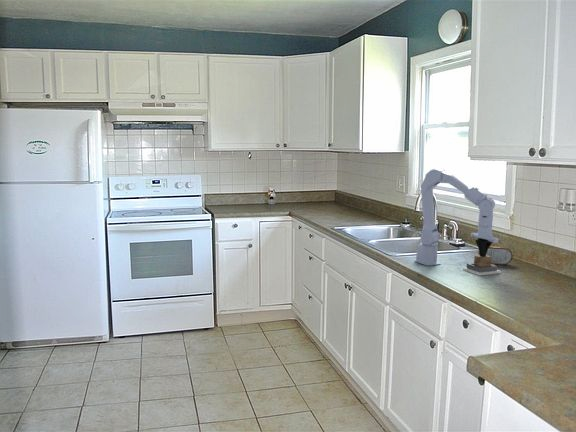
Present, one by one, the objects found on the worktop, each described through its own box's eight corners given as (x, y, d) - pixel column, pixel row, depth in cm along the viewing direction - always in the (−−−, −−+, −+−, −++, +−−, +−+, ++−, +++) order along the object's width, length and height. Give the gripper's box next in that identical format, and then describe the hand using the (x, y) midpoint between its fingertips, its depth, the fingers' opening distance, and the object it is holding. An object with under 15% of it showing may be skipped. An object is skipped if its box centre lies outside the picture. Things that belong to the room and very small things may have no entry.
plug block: (473, 268, 238) (474, 255, 237) (483, 267, 241) (484, 254, 240) (480, 270, 235) (481, 257, 234) (490, 269, 237) (491, 256, 236)
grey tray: (462, 269, 240) (463, 263, 239) (483, 267, 245) (483, 261, 244) (479, 275, 231) (479, 268, 230) (500, 273, 236) (500, 266, 235)
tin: (511, 264, 253) (512, 246, 252) (512, 265, 250) (514, 248, 249) (477, 262, 256) (478, 244, 254) (478, 263, 253) (480, 246, 251)
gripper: (504, 227, 230) (502, 259, 232) (479, 222, 243) (477, 252, 245) (492, 228, 227) (489, 260, 229) (467, 223, 240) (465, 253, 242)
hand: (482, 256), depth 237 cm, fingers closed, pressing on plug block
